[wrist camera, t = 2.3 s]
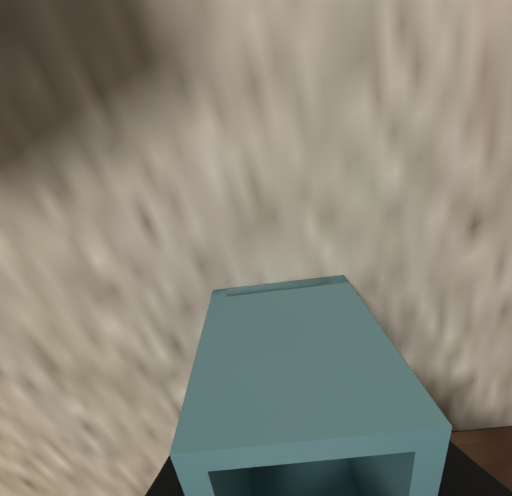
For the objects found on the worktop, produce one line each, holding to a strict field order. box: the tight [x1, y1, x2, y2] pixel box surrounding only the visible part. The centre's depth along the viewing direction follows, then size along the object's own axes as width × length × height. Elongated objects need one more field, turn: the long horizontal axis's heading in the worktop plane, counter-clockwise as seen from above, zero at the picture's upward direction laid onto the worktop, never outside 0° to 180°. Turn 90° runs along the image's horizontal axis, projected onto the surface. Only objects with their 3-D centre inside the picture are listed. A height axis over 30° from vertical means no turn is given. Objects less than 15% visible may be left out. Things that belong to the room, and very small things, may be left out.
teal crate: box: [170, 275, 452, 496], centre depth 9 cm, size 5×8×6 cm, turn 7°
